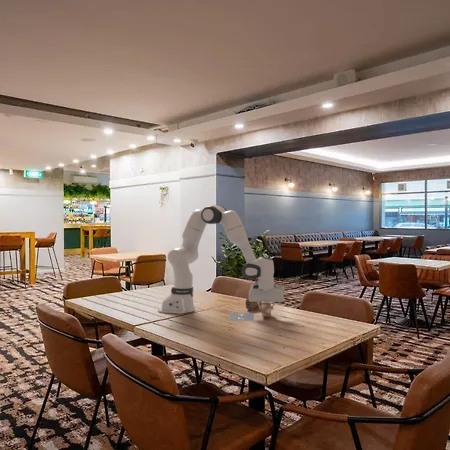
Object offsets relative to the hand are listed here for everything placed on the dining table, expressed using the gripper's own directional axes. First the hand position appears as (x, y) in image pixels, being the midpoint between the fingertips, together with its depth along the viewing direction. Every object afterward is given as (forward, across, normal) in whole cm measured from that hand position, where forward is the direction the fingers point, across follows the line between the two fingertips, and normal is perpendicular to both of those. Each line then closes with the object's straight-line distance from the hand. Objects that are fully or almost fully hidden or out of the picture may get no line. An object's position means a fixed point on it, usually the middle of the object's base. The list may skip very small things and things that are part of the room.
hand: (266, 309), depth 230 cm
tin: (+5, +6, -20) cm, 21 cm away
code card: (+5, +14, 0) cm, 15 cm away
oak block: (+2, 0, 0) cm, 2 cm away
